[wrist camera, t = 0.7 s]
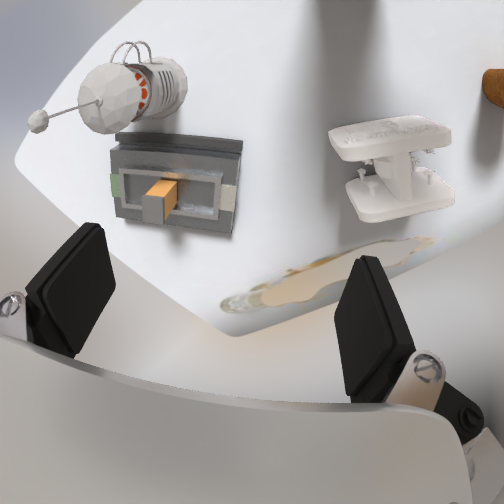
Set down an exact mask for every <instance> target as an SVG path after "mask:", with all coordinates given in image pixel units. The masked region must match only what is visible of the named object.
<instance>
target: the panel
mask: <svg viewBox="0 0 504 504" xmlns="http://www.w3.org/2000/svg"><path fill="white" fill-rule="evenodd" d="M110 158H111V172H112V174H110V180H111V191H112V197H114V203H115V212H116V217H119V218H127V219H134V220H141V221H143V215H142V201H141V197H142V196H143V195H145V194H146V193H147V192H148V191H149V190H150V189H151V188H152V187H153V186H154V185H155V184H156V183H157V181H158V180H169V181H177V204H176V205H175V207H174V208H173V209H172V211H171V212H170V214H169V215H168V217H167V218H166V220H165V223H164V224H170V225H177V226H184V227H191V228H197V229H204V230H211V231H218V232H224V233H231V229H232V226H233V219H234V211H235V202H236V193H237V185H238V176H239V168H240V160H241V154H235V153H227V152H219V151H210V150H200V149H190V148H178V147H164V146H147V145H118V146H116V147H114V148H112V149H111V150H110Z"/></svg>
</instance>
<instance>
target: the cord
mask: <svg viewBox="0 0 504 504" xmlns="http://www.w3.org/2000/svg"><path fill="white" fill-rule="evenodd" d="M115 141H128V142H153V143H170V144H183V145H195V146H205V147H215V148H224V149H232V150H240V151H241V149H242V144H243V141H241V140H233V139H224V138H215V137H205V136H193V135H180V134H164V133H137V132H118V133H116V134H115Z"/></svg>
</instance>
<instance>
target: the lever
mask: <svg viewBox="0 0 504 504" xmlns="http://www.w3.org/2000/svg"><path fill="white" fill-rule="evenodd" d="M141 201H142V215H143V222H144V223H151V224H158V225H164V223H165V220H166V218H167V217H168V215H169V214H170V212H171V211H172V209H173V208H174V207H175V205H176V204H177V181H169V180H158V181H157V183H156V184H155V185H154V186H153V187H152V188H151V189H150V190H149V191H148V192H147V193H146V194H145V195H143V196H142V197H141Z"/></svg>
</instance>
